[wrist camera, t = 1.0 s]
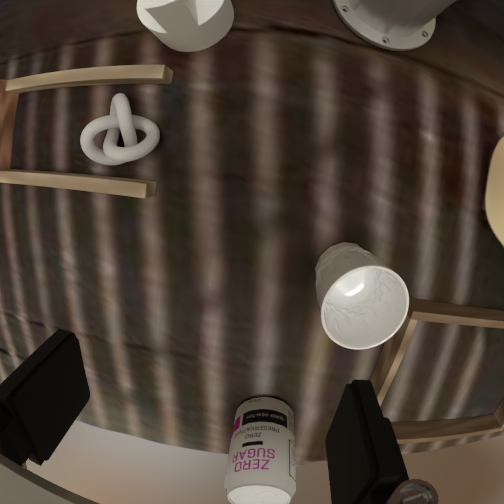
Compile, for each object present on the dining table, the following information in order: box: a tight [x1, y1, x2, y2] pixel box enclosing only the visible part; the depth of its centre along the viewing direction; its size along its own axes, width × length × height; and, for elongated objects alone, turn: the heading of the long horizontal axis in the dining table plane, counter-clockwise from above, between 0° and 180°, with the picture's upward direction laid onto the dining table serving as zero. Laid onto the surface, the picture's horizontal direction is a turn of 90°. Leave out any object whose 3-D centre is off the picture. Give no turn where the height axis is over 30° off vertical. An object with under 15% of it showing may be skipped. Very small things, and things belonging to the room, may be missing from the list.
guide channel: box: [0, 65, 174, 198], centre depth 30 cm, size 14×26×5 cm, turn 81°
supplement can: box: [224, 397, 296, 504], centre depth 34 cm, size 8×8×15 cm
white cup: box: [315, 242, 409, 349], centre depth 30 cm, size 8×8×10 cm
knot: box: [80, 93, 160, 165], centre depth 29 cm, size 8×8×6 cm
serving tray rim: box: [370, 298, 504, 444], centre depth 36 cm, size 22×32×4 cm
